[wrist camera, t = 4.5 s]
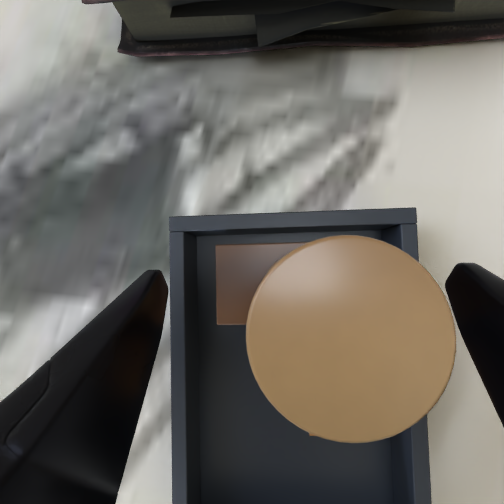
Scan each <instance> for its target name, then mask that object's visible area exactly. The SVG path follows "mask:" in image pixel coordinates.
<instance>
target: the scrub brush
mask: <svg viewBox="0 0 504 504" xmlns="http://www.w3.org/2000/svg"><path fill="white" fill-rule="evenodd" d="M215 252H216V307H217V325H246V347H247V354H248V358H249V363H250V366H251V369H252V372H253V374H254V377H255V379H256V381H257V383H258V385H259V387H260V389H261V390H262V392H263V393H264V395H265V396H266V398H267V399H268V400H269V402H270V403H271V404H272V405H273V406H274V407H275V408H276V410H277V411H278V412H280V413H281V414H282V415H283V416H284V417H285V418H286V419H287V420H289V421H290V422H292V423H293V424H295V425H296V426H298V427H299V428H301V429H303V430H305V431H307V432H309V433H311V434H313V435H315V436H318V437H321V438H324V439H327V440H332V441H336V442H344V443H368V442H373V441H379V440H383V439H386V438H389V437H392V436H394V435H397V434H399V433H401V432H403V431H405V430H407V429H408V428H410V427H411V426H413V425H414V424H416V423H417V422H418V421H420V420H421V419H422V418H423V417H424V416H425V415H426V414H427V413H428V412H429V411H430V410H431V409H432V408H433V406H434V405H435V404H436V403H437V401H438V400H439V398H440V397H441V395H442V394H443V392H444V390H445V388H446V386H447V384H448V381H449V379H450V376H451V373H452V369H453V366H454V360H455V353H456V334H455V326H454V321H453V317H452V313H451V310H450V307H449V305H448V302H447V300H446V297H445V296H444V294H443V292H442V290H441V289H440V287H439V285H438V284H437V282H436V281H435V280H434V278H433V277H432V276H431V275H430V273H429V272H428V271H427V270H426V269H425V268H424V267H423V266H422V265H421V264H420V263H419V262H418V261H416V260H415V259H414V258H413V257H411V256H410V255H409V254H407V253H406V252H404V251H402V250H401V249H399V248H397V247H395V246H393V245H391V244H388V243H386V242H384V241H380V240H377V239H374V238H370V237H364V236H358V235H338V236H329V237H325V238H320V239H316V240H314V241H311V242H290V243H256V244H223V245H216V246H215Z"/></svg>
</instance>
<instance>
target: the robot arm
mask: <svg viewBox="0 0 504 504" xmlns="http://www.w3.org/2000/svg"><path fill="white" fill-rule="evenodd" d="M445 288H446V291H447V294H448V298H449V301H450V304H451V307H452V310H453V313H454V316H455V319H456V322H457V325H458V328H459V330H460V333H461V336H462V338H463V340H464V342H465V345H466V347H467V349H468V351H469V353H470V355H471V358H472V360H473V362H474V364H475V366H476V368H477V371H478V373H479V375H480V377H481V379H482V381H483V383H484V386H485V388H486V390H487V392H488V394H489V396H490V399H491V401H492V403H493V405H494V407H495V409H496V412H497V414H498V416H499V418H500V420H501V422H502V424H503V427H504V280H503V279H501V278H499V277H498V276H496V275H494V274H493V273H491V272H489V271H488V270H486V269H484V268H482V267H481V266H479V265H477V264H475V263H458V264H457V265H456V266H455V267H454V269H453V270H452V272H451V274H450V275H449V277H448V278H447V280H446V283H445ZM167 298H168V286H167V283H166V281H165V279H164V276H163V274H162V272H161V271H160V270H147V271H146V272H144V273H143V274H142V275H141V276H140V277H139V278H138V279H137V280H136V281H135V282H133V283H132V284H131V285H130V286H129V287H128V288H127V289H126V290H125V291H124V292H122V293H121V294H120V295H119V296H118V297H117V298H116V299H115V300H114V301H113V302H112V303H110V304H109V305H108V306H107V307H106V308H105V309H104V310H103V311H102V312H101V313H99V314H98V315H97V316H96V317H95V318H94V319H93V320H92V321H91V322H90V323H89V324H87V325H86V326H85V327H84V328H83V329H82V330H81V331H80V332H79V333H78V334H77V335H75V336H74V337H73V338H72V339H71V340H70V341H69V342H68V343H67V344H66V345H64V346H63V347H62V348H61V349H60V350H59V351H58V352H57V353H56V354H55V355H54V356H52V357H51V359H50V360H48V361H47V362H46V363H45V364H44V365H42V366H41V367H40V368H39V369H38V370H37V371H36V372H35V373H34V374H33V375H31V376H30V377H29V378H28V379H27V380H26V381H25V382H23V383H22V384H21V385H20V386H19V387H18V388H17V389H16V390H14V391H13V392H12V393H11V394H10V395H8V396H7V397H6V398H5V399H4V400H2V401H1V402H0V504H115V503H116V499H117V495H118V493H117V492H118V491H119V488H120V484H121V480H122V477H123V473H124V469H125V466H126V462H127V459H128V455H129V451H130V448H131V444H132V441H133V437H134V433H135V430H136V426H137V423H138V419H139V415H140V412H141V408H142V405H143V401H144V397H145V394H146V390H147V387H148V383H149V379H150V376H151V372H152V369H153V365H154V361H155V358H156V354H157V351H158V347H159V343H160V339H161V335H162V330H163V323H164V317H165V311H166V304H167Z"/></svg>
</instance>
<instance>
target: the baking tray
mask: <svg viewBox="0 0 504 504" xmlns="http://www.w3.org/2000/svg"><path fill="white" fill-rule="evenodd" d="M416 223H417V215H416V208H389V209H362V210H336V211H310V212H283V213H257V214H230V215H204V216H177V217H169V231H170V324H171V420H172V504H432V503H431V484H430V465H429V446H428V427H427V414H426V415H425V416H424V417H423V418H422V419H421V420H420V421H418V422H417V423H416V424H414V425H413V426H411V427H410V428H408V429H407V430H405V431H403V432H401V433H399V434H397V435H394V436H392V437H389V438H386V439H383V440H379V441H373V442H368V443H344V442H336V441H332V440H327V439H324V438H321V437H318V436H310V435H309V432H307V431H305V430H303V429H301V428H299V427H298V426H296V425H295V424H293V423H292V422H290V421H289V420H287V419H286V418H285V417H284V416H283V415H282V414H281V413H280V412H278V411H277V410H276V408H275V407H274V406H273V405H272V404H271V403H270V402H269V400H268V399H267V398H266V396H265V395H264V393H263V392H262V390H261V389H260V387H259V385H258V383H257V381H256V379H255V377H254V374H253V372H252V369H251V366H250V363H249V358H248V354H247V347H246V325H217V307H216V252H215V246H216V245H223V244H256V243H290V242H311V241H314V240H316V239H320V238H325V237H329V236H338V235H358V236H364V237H370V238H374V239H377V240H380V241H384V242H386V243H388V244H391V245H393V246H395V247H397V248H399V249H401V250H402V251H404V252H406V253H407V254H409V255H410V256H411V257H413V258H414V259H415V260H416V261H418V262H419V256H418V238H417V224H416Z"/></svg>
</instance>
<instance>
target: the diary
mask: <svg viewBox="0 0 504 504" xmlns="http://www.w3.org/2000/svg"><path fill="white" fill-rule="evenodd" d="M108 2H112V3H113V4H114V6H115V8H116V9H117V11H118V12H119V14H120V16H121V17H122V31H121V41H120V44H119V46H118V52H119V53H123V54H128V55H132V56H176V55H217V54H230V53H240V52H250V51H261V50H271V49H282V48H292V47H302V46H395V47H414V46H424V45H435V44H445V43H456V42H466V41H477V40H487V39H498V38H504V0H82V3H84V4H98V3H108Z"/></svg>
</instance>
